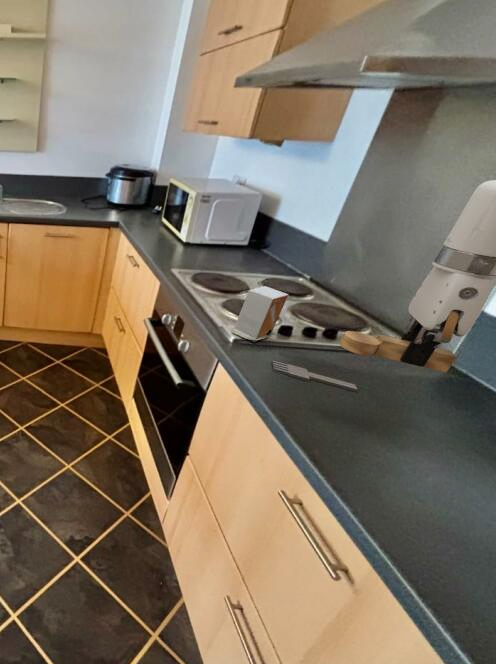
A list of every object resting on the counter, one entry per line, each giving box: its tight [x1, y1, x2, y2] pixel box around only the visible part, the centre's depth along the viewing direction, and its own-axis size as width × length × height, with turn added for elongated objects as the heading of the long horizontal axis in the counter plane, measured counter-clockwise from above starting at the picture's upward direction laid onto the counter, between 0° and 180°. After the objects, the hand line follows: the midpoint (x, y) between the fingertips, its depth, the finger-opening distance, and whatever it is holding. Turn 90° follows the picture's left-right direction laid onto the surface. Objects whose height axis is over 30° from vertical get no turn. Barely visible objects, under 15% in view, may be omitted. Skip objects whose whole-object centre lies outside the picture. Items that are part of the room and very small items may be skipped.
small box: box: [233, 285, 289, 339], centre depth 110 cm, size 8×6×13 cm
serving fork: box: [271, 360, 358, 393], centre depth 95 cm, size 16×5×1 cm, turn 61°
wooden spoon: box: [339, 330, 458, 373], centre depth 75 cm, size 15×5×3 cm, turn 63°
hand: (408, 358), depth 74 cm, fingers closed on wooden spoon, 2 cm apart
